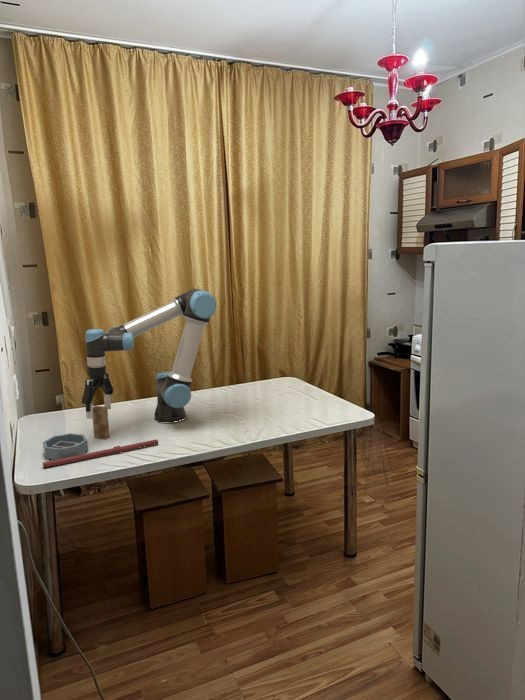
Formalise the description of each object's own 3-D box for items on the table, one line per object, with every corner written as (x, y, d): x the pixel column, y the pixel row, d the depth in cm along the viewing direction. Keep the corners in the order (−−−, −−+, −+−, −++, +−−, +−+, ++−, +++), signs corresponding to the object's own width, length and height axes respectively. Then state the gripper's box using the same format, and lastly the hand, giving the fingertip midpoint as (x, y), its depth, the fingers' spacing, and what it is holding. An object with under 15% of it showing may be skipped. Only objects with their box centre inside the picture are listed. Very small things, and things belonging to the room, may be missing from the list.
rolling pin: (156, 444, 217) (156, 437, 216) (158, 446, 214) (158, 439, 214) (42, 467, 195) (42, 459, 194) (44, 470, 192) (43, 462, 191)
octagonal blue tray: (94, 447, 213) (94, 435, 212) (71, 462, 198) (70, 450, 197) (61, 443, 217) (60, 432, 216) (35, 458, 202) (34, 446, 201)
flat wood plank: (109, 437, 224) (107, 407, 221) (106, 439, 221) (104, 408, 218) (97, 436, 225) (95, 405, 222) (94, 438, 223) (91, 407, 220)
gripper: (105, 359, 229) (107, 404, 234) (70, 371, 206) (73, 421, 210) (119, 360, 227) (122, 405, 232) (86, 373, 204) (89, 423, 208)
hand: (99, 413), depth 221 cm, fingers open, 13 cm apart
